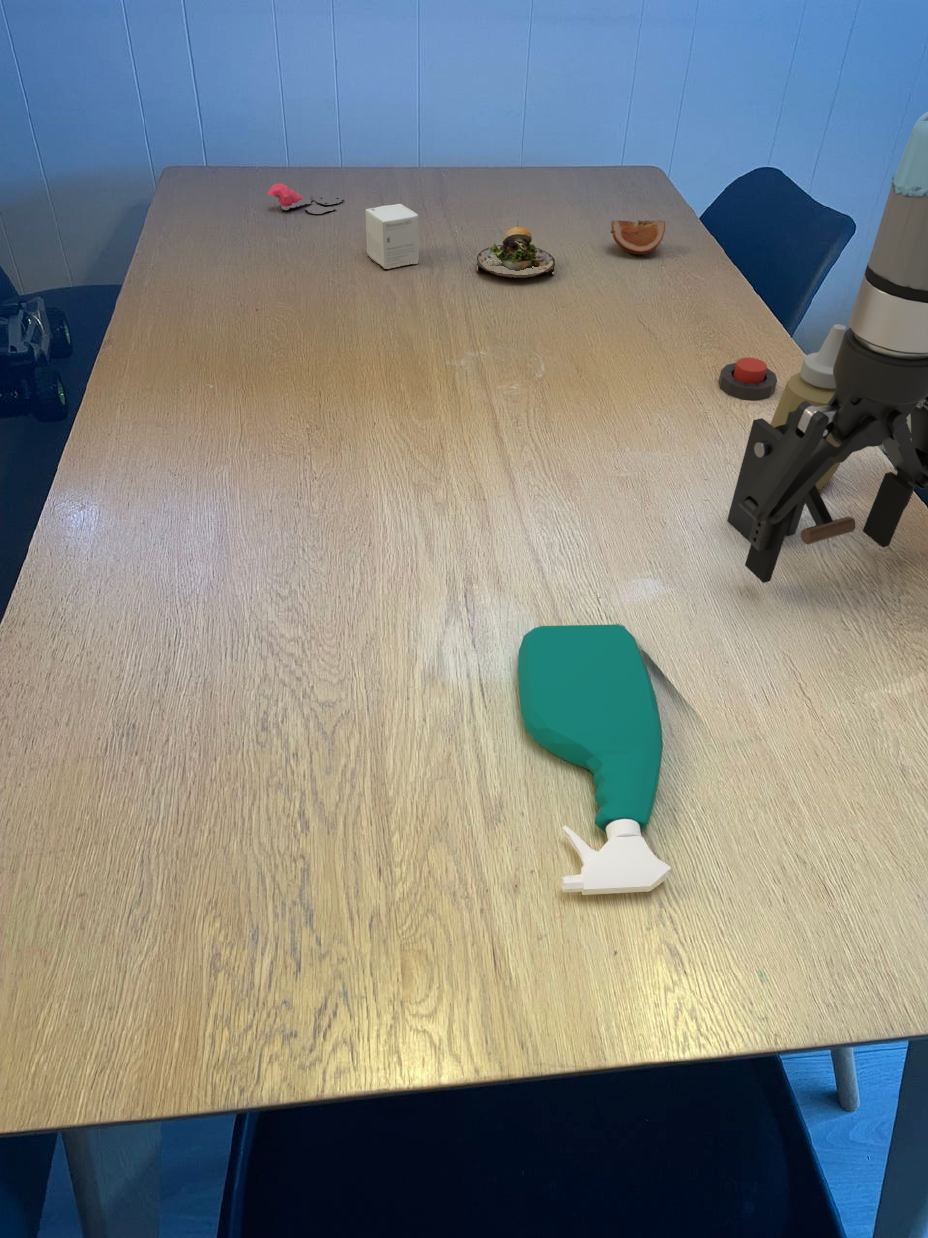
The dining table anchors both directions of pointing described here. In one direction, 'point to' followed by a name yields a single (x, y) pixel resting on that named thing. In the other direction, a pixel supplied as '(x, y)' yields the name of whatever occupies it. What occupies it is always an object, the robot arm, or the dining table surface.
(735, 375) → the button
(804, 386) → the squeeze bottle
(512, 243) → the burger
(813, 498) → the lever
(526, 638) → the spray bottle
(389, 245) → the product box
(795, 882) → the dining table surface
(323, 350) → the dining table surface
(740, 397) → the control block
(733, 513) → the bracket
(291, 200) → the pink fuzzy curved piece
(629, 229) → the fruit slice
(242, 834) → the dining table surface
